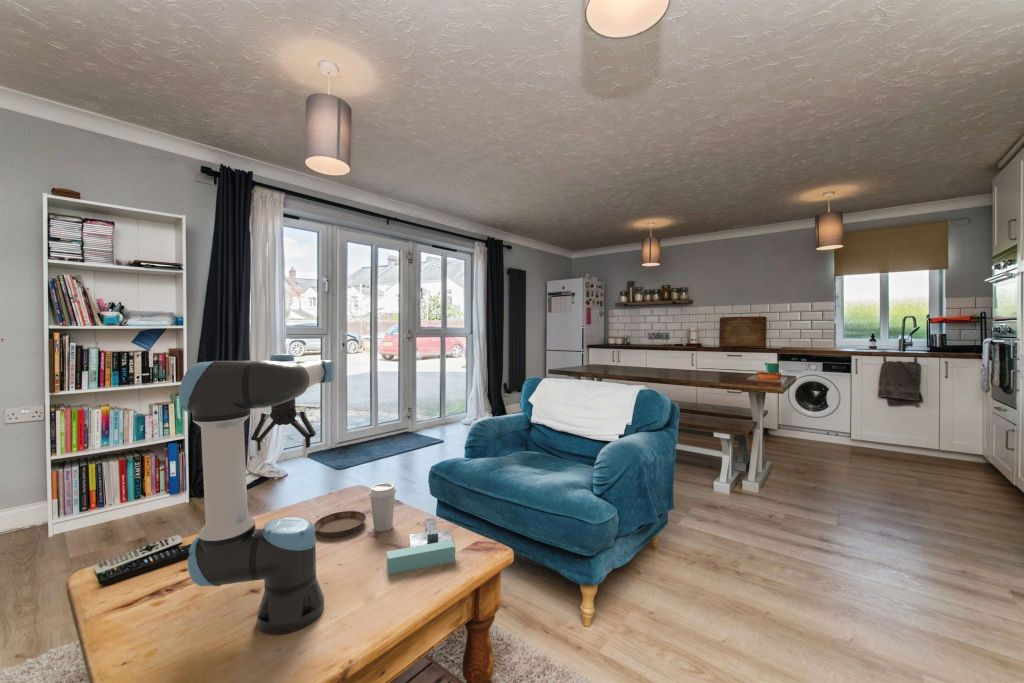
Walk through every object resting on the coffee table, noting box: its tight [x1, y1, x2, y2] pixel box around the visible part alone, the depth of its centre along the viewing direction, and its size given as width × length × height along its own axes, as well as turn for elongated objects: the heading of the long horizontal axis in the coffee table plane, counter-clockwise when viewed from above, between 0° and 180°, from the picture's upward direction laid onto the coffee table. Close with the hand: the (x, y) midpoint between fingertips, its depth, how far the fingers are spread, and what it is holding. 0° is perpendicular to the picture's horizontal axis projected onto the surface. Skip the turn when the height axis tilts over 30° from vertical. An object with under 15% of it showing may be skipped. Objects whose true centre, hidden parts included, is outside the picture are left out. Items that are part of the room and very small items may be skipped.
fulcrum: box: [409, 517, 455, 548], centre depth 145 cm, size 14×14×6 cm
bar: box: [386, 540, 456, 575], centre depth 133 cm, size 4×20×5 cm, turn 110°
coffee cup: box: [368, 482, 397, 533], centre depth 158 cm, size 10×10×15 cm
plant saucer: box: [313, 510, 367, 538], centre depth 158 cm, size 18×18×3 cm
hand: (284, 458), depth 152 cm, fingers open, 13 cm apart
